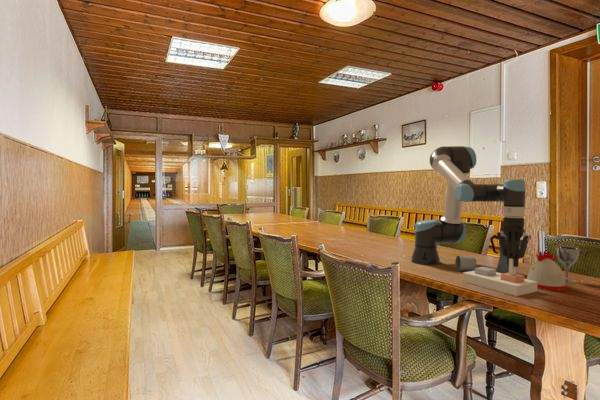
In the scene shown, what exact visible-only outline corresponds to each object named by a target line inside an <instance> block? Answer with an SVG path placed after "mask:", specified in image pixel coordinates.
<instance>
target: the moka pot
mask: <svg viewBox="0 0 600 400" xmlns="http://www.w3.org/2000/svg"><path fill="white" fill-rule="evenodd" d="M505 238H506V236H505ZM489 239H490V244H491V248H492V251H493V253H494V254H497V255H498V254H499V258H498V261H497V262H498V263H497V266H496V272H498V273H502V274H503V273H509V266H508V265H507V257H506V256H503V255H502V250H501V245H500V240H499V237H498V235H497V234H493V235H492V236H491V237H490V238H489ZM494 239H496V240H498V245H499V246H498V249H499V251H496V248H495V242H494ZM521 242H522V238H520V245H521ZM506 243H507V241H506ZM512 258H513V257H512ZM517 268H518V267H516V274H518V273H517V271H518V270H517Z"/></svg>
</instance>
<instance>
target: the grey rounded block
mask: <svg viewBox="0 0 600 400" xmlns="http://www.w3.org/2000/svg"><path fill="white" fill-rule="evenodd" d="M496 270H497V268H496V269H495V268H491V267H485V266H480V267H476V268H475V270H474V271H475V274H479V275H484V276H492V275H496V272H497V271H496Z"/></svg>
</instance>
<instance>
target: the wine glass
mask: <svg viewBox="0 0 600 400" xmlns="http://www.w3.org/2000/svg"><path fill="white" fill-rule="evenodd" d="M579 253H580V248H579V247H576V246H575V247H574V246H568V245H567V246H566V245H565V246H564V245H559V246H556V255H557V256H556V257H557V259H558V260H559V262H560V263H561V264H562V265H563V267H564V270H565V277H564V278H565V282H566V283H573V284H576V283H577V282H578V281H577V280H575V279H571V278H569V271H570V268H571V267H572V265H574V264H575V263H576V262H577V261H578V259H579V255H580V254H579Z"/></svg>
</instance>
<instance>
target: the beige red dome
mask: <svg viewBox="0 0 600 400" xmlns="http://www.w3.org/2000/svg"><path fill="white" fill-rule="evenodd" d="M538 253H539V254H535V256H536V258H537V261H535V262H534V263H533V264H532V265H531V267H530V269H529V271H528V274H527V276H526V279H528V280H533V281H537V289H540V290H546V291H564V290H566V288H567V282H565V278H566V277H565V276H564V272H563V271H562V269H561V267H560V266H559V264H558V263H557V262H556V259H557V256H556V255H555V256H554V253H550V250H547V251H545V250H543V253H542V251H539V252H538Z"/></svg>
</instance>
